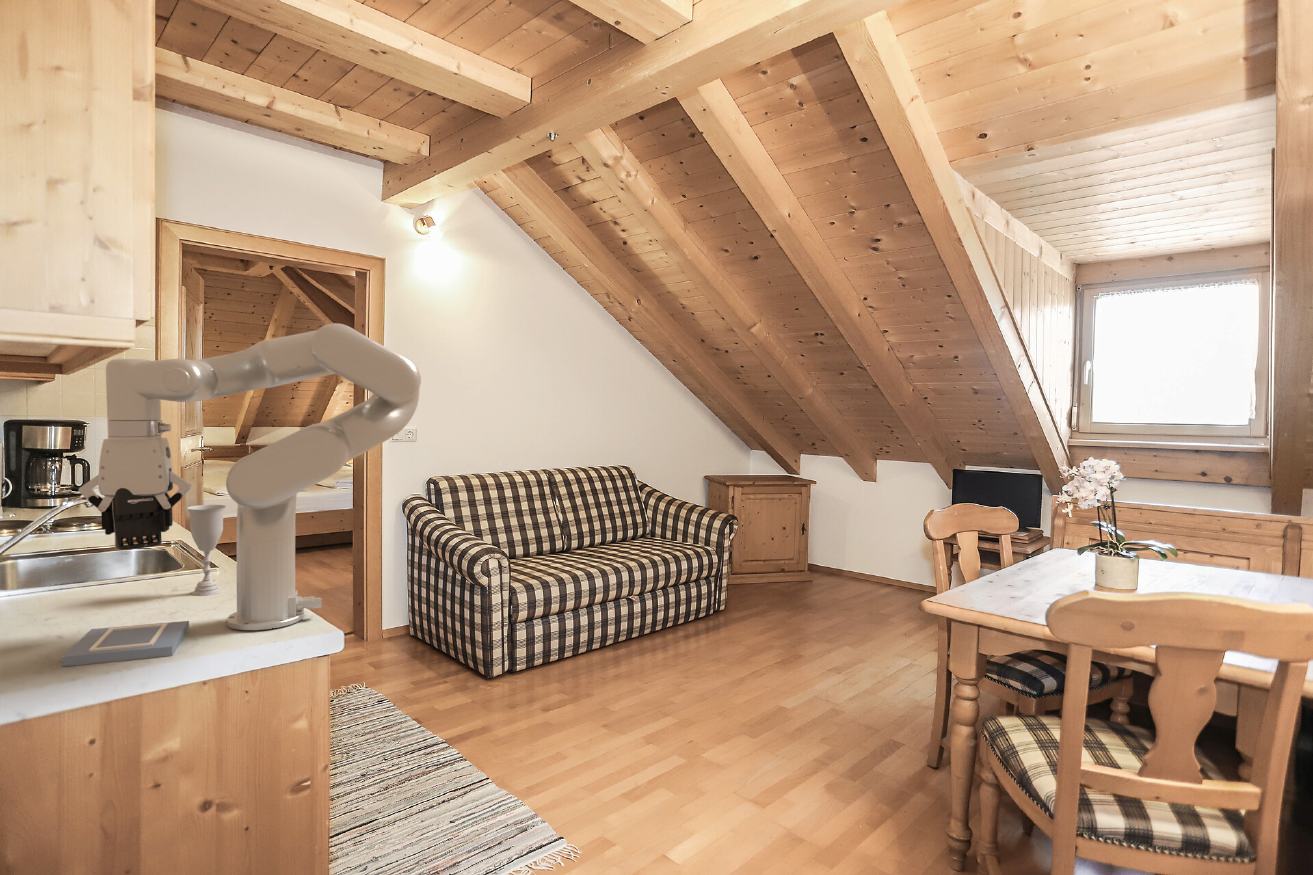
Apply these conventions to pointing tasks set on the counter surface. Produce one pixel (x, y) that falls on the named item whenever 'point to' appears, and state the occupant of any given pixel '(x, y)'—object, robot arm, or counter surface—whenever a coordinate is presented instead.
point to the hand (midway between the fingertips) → (138, 531)
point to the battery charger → (135, 520)
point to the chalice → (206, 540)
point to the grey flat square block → (126, 643)
